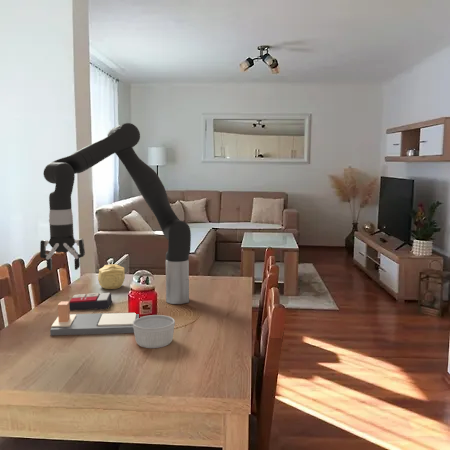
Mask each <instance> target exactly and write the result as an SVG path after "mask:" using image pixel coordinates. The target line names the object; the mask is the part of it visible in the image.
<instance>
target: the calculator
mask: <svg viewBox="0 0 450 450" xmlns="http://www.w3.org/2000/svg"><path fill="white" fill-rule="evenodd" d="M112 301H113V300H112V293H111V292H94V293H93V292H92V293H91V292H90V293H79V294H74V295H73V296H72V297H71V299H70V300H69V305H70V311H79V310H80V311H81V310H82V311H83V310H94V309H95V310H108V309H109V308H110V306H111V304H112Z"/></svg>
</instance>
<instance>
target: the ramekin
mask: <svg viewBox="0 0 450 450" xmlns="http://www.w3.org/2000/svg"><path fill="white" fill-rule="evenodd" d="M175 326H176V321H175V319H174V318H173V317H172V316H169V315H163V314H152V315H150V314H149V315H144V316H140V318H137V319H136V320H134V321H133V328H134V333H133V334H134V339H135V342H136V344H137V345H138V346H140V347H142V348H144V349H145V348H147V349H159V348H164V347H167V346H169V345H170V344H171V342H172V341H173V339H174V332H175V331H174V330H175Z"/></svg>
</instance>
